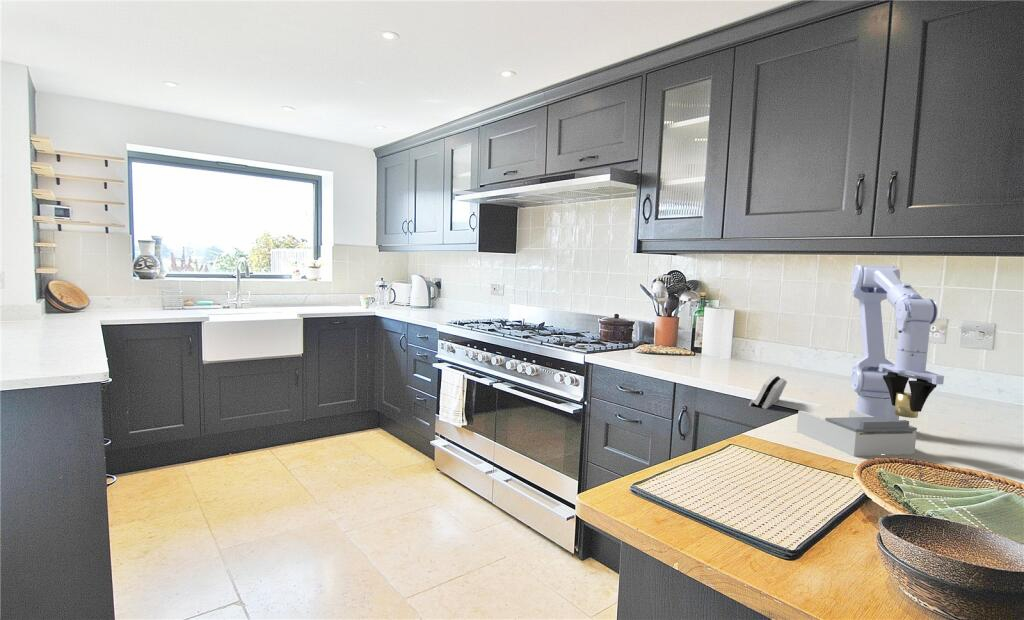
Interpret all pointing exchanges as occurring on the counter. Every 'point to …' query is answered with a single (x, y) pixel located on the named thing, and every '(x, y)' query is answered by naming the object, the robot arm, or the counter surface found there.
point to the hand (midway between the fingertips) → (906, 408)
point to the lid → (872, 424)
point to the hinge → (770, 392)
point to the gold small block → (904, 405)
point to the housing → (856, 437)
